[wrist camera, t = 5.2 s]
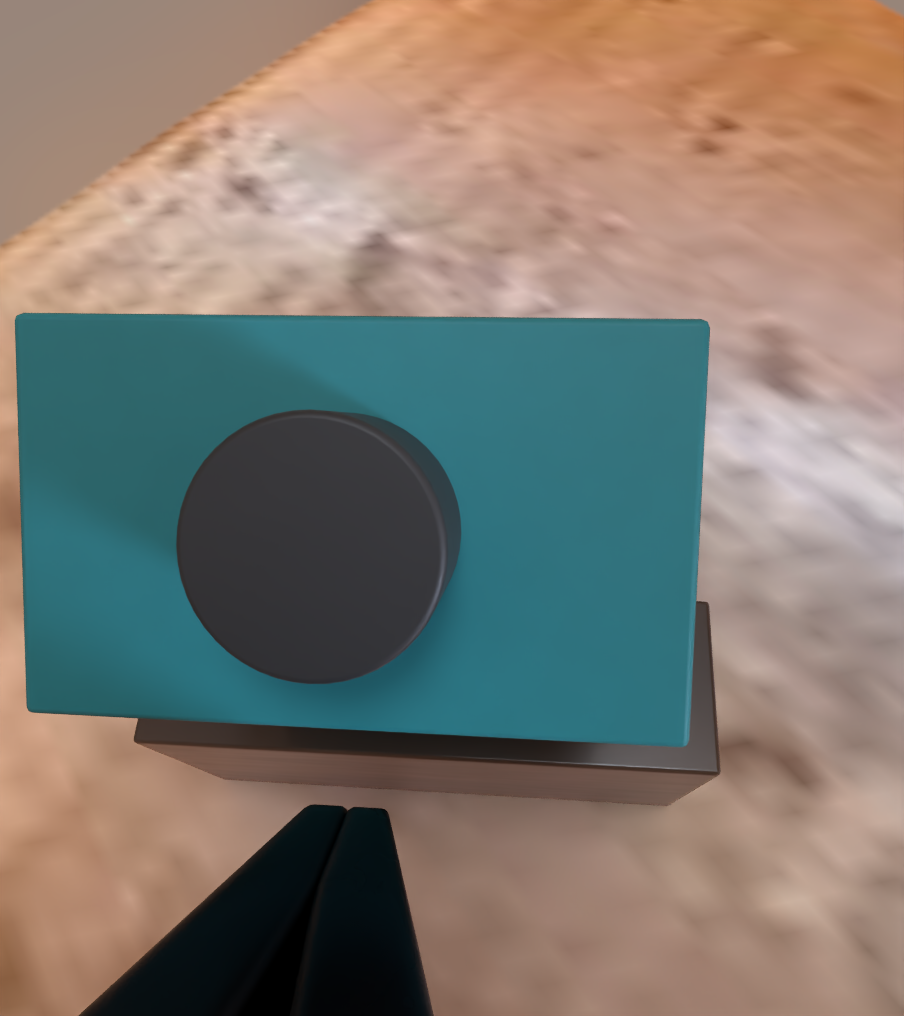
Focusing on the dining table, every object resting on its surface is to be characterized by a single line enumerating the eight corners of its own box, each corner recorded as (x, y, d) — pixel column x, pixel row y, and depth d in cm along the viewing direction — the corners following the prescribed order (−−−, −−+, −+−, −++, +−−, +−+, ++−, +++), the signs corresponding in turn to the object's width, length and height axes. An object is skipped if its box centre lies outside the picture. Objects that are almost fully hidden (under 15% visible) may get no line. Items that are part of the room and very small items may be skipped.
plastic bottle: (590, 826, 18) (771, 681, 5) (292, 808, 19) (-180, 638, 6) (588, 428, 22) (688, -188, 9) (344, 423, 23) (129, -165, 10)
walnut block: (669, 806, 18) (721, 775, 14) (222, 779, 19) (131, 742, 14) (663, 669, 19) (709, 600, 15) (244, 650, 20) (167, 579, 16)
